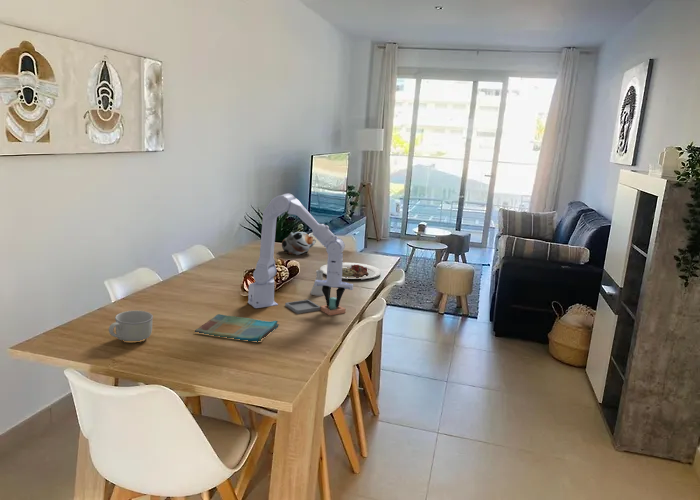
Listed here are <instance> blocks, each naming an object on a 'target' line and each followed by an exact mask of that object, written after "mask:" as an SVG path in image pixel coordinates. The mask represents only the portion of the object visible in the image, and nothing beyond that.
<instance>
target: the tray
mask: <svg viewBox="0 0 700 500" xmlns="http://www.w3.org/2000/svg"><path fill="white" fill-rule="evenodd" d="M284 306H285V307H286V308H288V309H289V310H291V311H293V312H294V313H295V314H297V315H298V314H299V315H300V314H305V313H310V312H317V311H321V307H320V306H321V305H318V304H316V303H315V302H313V301H311V300H310V299H303V300H302V299H301V300H295V301H289V302H288V301H287V302H285V305H284Z"/></svg>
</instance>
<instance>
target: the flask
mask: <svg viewBox="0 0 700 500" xmlns="http://www.w3.org/2000/svg"><path fill="white" fill-rule="evenodd" d="M315 273H316V276H315V280H314V283H313V285H312V288H311V290H310V295H313V296H316V297H321V296H324V293H323V292H322V287H323V286H315V281H316V280H324V278H323V275H324V273H323V270H320V269H316V270H315ZM324 297H325V296H324Z"/></svg>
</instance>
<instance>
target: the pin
mask: <svg viewBox="0 0 700 500" xmlns="http://www.w3.org/2000/svg"><path fill="white" fill-rule="evenodd" d="M336 301H337V297H334V296H333V297H331V296H330V298H329V309H330V310H334V309H337V307H336Z"/></svg>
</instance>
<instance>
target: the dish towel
mask: <svg viewBox="0 0 700 500" xmlns="http://www.w3.org/2000/svg"><path fill="white" fill-rule="evenodd" d="M279 325H280V324H279V323H278V320H271V321H267V320H259V319H256V318H255V319H254V318H249V317H241V316H235V315H234V316H233V315H226V314H216V315H215V316H213V317H212V318H210V319H209V320H208V321H207V322H205V323H204V324H202V325H201V326H199V327H198V328H196V329H195V330H194V332H199V333H204V334H209V335H214V336H220V337H227V338H234V339H240V340H248V341H257V342H258V341H261V339H262V338H264V337H266V336H267V335H268V334H269V333H270V332H272V331H273V330H274V329H275V330H276V329H277V328H279V327H278V326H279ZM275 330H274V331H275ZM274 331H273V332H274ZM273 332H272V333H273ZM267 337H268V336H267ZM267 337H266V338H267Z"/></svg>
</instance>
